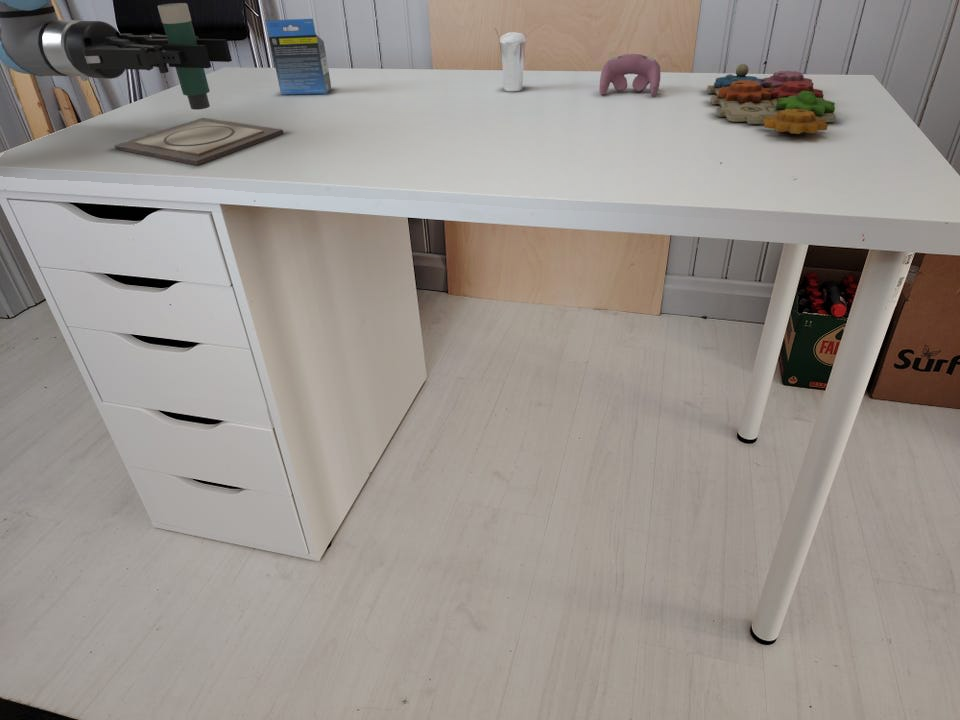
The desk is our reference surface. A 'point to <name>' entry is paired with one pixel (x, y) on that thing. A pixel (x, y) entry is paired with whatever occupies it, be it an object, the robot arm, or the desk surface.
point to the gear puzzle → (773, 101)
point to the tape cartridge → (299, 57)
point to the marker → (183, 33)
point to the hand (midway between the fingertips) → (217, 53)
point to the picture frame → (199, 140)
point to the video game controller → (630, 65)
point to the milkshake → (512, 59)
